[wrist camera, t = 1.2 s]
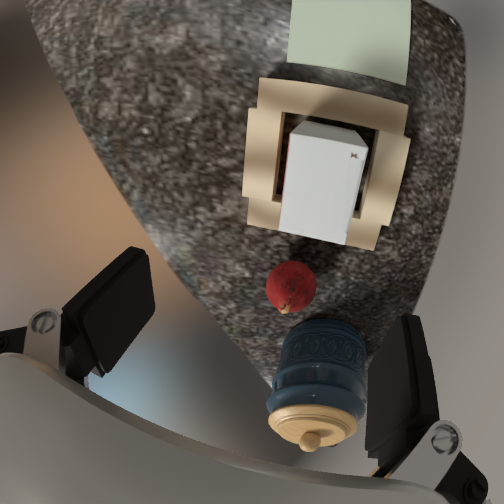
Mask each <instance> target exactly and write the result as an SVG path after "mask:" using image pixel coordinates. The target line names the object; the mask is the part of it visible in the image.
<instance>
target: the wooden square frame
mask: <svg viewBox="0 0 504 504" xmlns="http://www.w3.org/2000/svg"><path fill="white" fill-rule="evenodd" d="M285 112H289V113H296V114H303V115H309V116H315V117H321V118H327V119H332V120H337V121H342V122H347V123H351V124H356V125H360V126H365V127H369V128H373V129H376V130H375V136H374V141H373V147H372V152H371V157H370V162H369V167H368V172H367V176H366V181H365V185H364V190H363V194H362V198H361V203H360V207H359V211H358V210H354V212H353V216H352V220H351V224H350V228H349V233H348V237H347V242H346V244H345V245H350V246H354V247H359V248H363V249H368V250H372V251H374V248H375V245H376V242H377V238H378V235H379V232H380V229H381V225H386V226H389V223H390V220H391V217H392V213H393V210H394V206H395V203H396V199H397V196H398V192H399V188H400V184H401V180H402V176H403V172H404V168H405V163H406V159H407V154H408V150H409V145H410V140H411V139H410V138H408V137H406V136H404V129H405V124H406V118H407V112H408V105H406V104H403V103H399V102H396V101H392V100H389V99H385V98H381V97H377V96H373V95H369V94H365V93H361V92H356V91H351V90H347V89H342V88H336V87H331V86H325V85H319V84H313V83H306V82H298V81H290V80H281V79H270V78H260V80H259V91H258V102H257V107H253V108H249V113H248V125H247V138H246V150H245V163H244V177H243V190H242V196H245V197H249V207H248V220H247V224H248V225H254V226H259V227H264V228H269V229H274V230H278V224H279V216H280V209H281V201H282V195H281V194H276V190H277V182H278V174H279V165H280V157H281V148H282V139H283V130H284V121H285Z"/></svg>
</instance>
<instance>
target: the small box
mask: <svg viewBox="0 0 504 504" xmlns="http://www.w3.org/2000/svg"><path fill="white" fill-rule="evenodd" d="M367 153H368V147H367V145H366V144H365V142H364V141H363V140H362V138H361V137H360V136H359V134H358V133H357V132H356V131H355V130H351V129H347V128H342V127H337V126H332V125H327V124H322V123H317V122H311V121H303V122H302V123H300V124H299V125H298V126H297V127H296V128H295V129H294V130H293V131H292V132H291V133H290V136H289V144H288V153H287V161H286V169H285V177H284V185H283V193H282V201H281V209H280V216H279V224H278V230H279V231H283V232H288V233H293V234H297V235H302V236H306V237H311V238H315V239H320V240H324V241H329V242H333V243H337V244H342V245H345V244H346V242H347V237H348V233H349V228H350V224H351V220H352V216H353V212H354V208H355V203H356V199H357V195H358V190H359V186H360V182H361V177H362V173H363V169H364V165H365V161H366V157H367Z"/></svg>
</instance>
